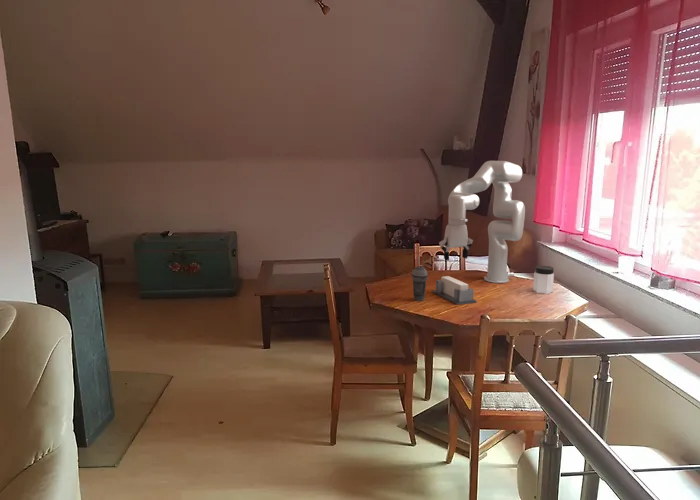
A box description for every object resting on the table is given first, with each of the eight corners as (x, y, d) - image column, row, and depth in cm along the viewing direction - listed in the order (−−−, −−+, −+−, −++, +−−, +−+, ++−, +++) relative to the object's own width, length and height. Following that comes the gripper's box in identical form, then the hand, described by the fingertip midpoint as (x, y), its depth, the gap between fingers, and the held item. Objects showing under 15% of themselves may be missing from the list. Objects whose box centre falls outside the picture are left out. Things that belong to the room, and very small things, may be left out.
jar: (555, 293, 251) (556, 269, 249) (538, 294, 251) (539, 269, 249) (547, 289, 260) (549, 265, 258) (531, 289, 260) (532, 265, 257)
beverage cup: (417, 302, 236) (418, 259, 233) (407, 298, 243) (409, 256, 239) (430, 300, 240) (431, 257, 236) (421, 296, 246) (422, 254, 242)
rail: (448, 290, 254) (448, 276, 252) (467, 299, 238) (468, 284, 237) (440, 290, 252) (441, 276, 251) (460, 300, 237) (460, 285, 235)
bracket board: (450, 290, 257) (451, 278, 256) (476, 302, 237) (476, 289, 236) (432, 292, 254) (432, 280, 252) (457, 304, 233) (457, 291, 232)
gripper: (468, 219, 245) (467, 255, 248) (435, 222, 239) (435, 259, 243) (477, 222, 238) (476, 259, 242) (444, 224, 232) (443, 262, 236)
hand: (455, 259), depth 242 cm, fingers open, 9 cm apart
